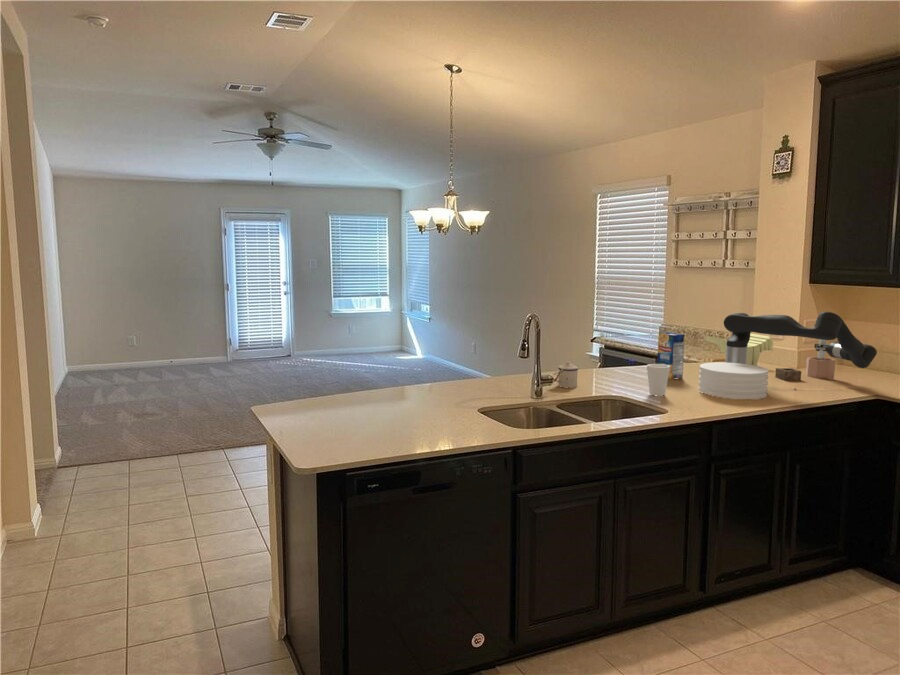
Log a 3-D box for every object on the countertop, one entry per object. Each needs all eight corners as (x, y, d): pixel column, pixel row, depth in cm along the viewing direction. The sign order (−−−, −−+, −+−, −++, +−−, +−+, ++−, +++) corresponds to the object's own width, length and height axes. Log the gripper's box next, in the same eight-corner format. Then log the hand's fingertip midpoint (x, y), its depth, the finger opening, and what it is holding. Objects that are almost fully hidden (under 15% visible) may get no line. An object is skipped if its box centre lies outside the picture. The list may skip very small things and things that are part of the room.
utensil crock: (808, 380, 311) (810, 360, 310) (804, 376, 322) (806, 356, 320) (835, 381, 307) (836, 361, 306) (830, 377, 318) (831, 357, 316)
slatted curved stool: (725, 373, 329) (727, 339, 327) (704, 368, 344) (706, 335, 342) (771, 370, 338) (773, 337, 336) (748, 365, 353) (750, 333, 351)
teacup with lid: (570, 383, 301) (571, 359, 299) (581, 387, 293) (582, 362, 291) (548, 385, 296) (549, 361, 295) (559, 389, 288) (559, 364, 287)
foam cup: (665, 398, 271) (666, 368, 270) (643, 395, 276) (644, 366, 274) (670, 394, 279) (672, 365, 278) (649, 391, 284) (650, 363, 282)
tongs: (815, 372, 315) (819, 324, 312) (820, 372, 315) (824, 324, 312) (819, 373, 312) (823, 325, 309) (824, 373, 312) (828, 325, 309)
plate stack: (760, 388, 292) (762, 364, 291) (772, 402, 266) (774, 375, 264) (695, 384, 300) (697, 361, 299) (701, 397, 273) (702, 371, 272)
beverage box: (671, 379, 312) (673, 335, 309) (656, 375, 322) (658, 332, 319) (682, 378, 314) (684, 334, 311) (667, 374, 324) (669, 332, 322)
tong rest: (784, 383, 303) (784, 371, 302) (775, 380, 311) (775, 368, 310) (800, 383, 303) (801, 371, 302) (791, 380, 311) (791, 368, 310)
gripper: (825, 358, 298) (804, 353, 316) (854, 358, 299) (831, 353, 316) (826, 342, 297) (805, 338, 315) (855, 342, 298) (832, 338, 315)
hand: (818, 345), depth 315 cm, fingers closed on tongs, 2 cm apart
